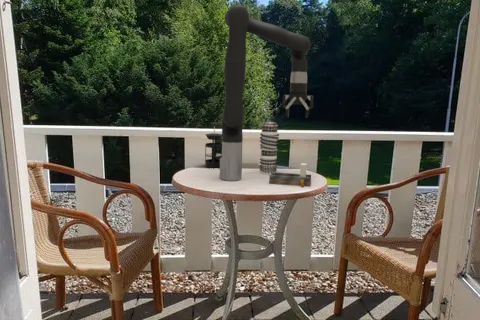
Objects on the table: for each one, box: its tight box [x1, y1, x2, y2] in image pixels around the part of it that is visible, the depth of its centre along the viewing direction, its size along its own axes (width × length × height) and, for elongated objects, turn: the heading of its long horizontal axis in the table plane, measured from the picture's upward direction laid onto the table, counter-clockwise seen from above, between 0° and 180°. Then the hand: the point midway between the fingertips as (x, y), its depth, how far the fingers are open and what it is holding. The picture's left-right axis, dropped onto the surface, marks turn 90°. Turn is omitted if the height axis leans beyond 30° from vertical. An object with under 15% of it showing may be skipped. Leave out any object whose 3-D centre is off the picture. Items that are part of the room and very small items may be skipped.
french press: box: [204, 122, 222, 170], centre depth 215 cm, size 12×9×23 cm
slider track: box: [268, 171, 312, 188], centre depth 186 cm, size 18×11×4 cm, turn 79°
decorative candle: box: [259, 121, 280, 176], centre depth 204 cm, size 9×9×25 cm
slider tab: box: [298, 162, 309, 178], centre depth 185 cm, size 5×4×7 cm
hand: (296, 117), depth 194 cm, fingers open, 8 cm apart
